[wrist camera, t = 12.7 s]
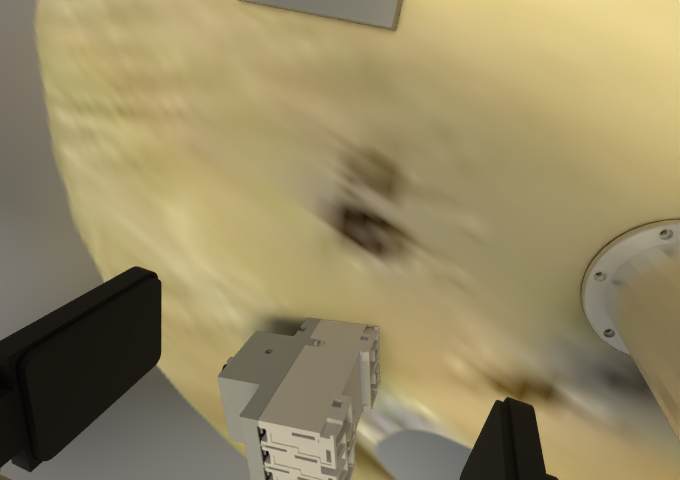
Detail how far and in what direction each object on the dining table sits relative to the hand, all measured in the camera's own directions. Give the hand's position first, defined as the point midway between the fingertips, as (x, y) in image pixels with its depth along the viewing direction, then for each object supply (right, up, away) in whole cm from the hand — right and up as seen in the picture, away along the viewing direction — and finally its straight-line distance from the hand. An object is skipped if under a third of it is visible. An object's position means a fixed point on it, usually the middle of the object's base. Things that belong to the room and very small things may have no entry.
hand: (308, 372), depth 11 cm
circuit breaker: (-2, -9, +36) cm, 37 cm away
